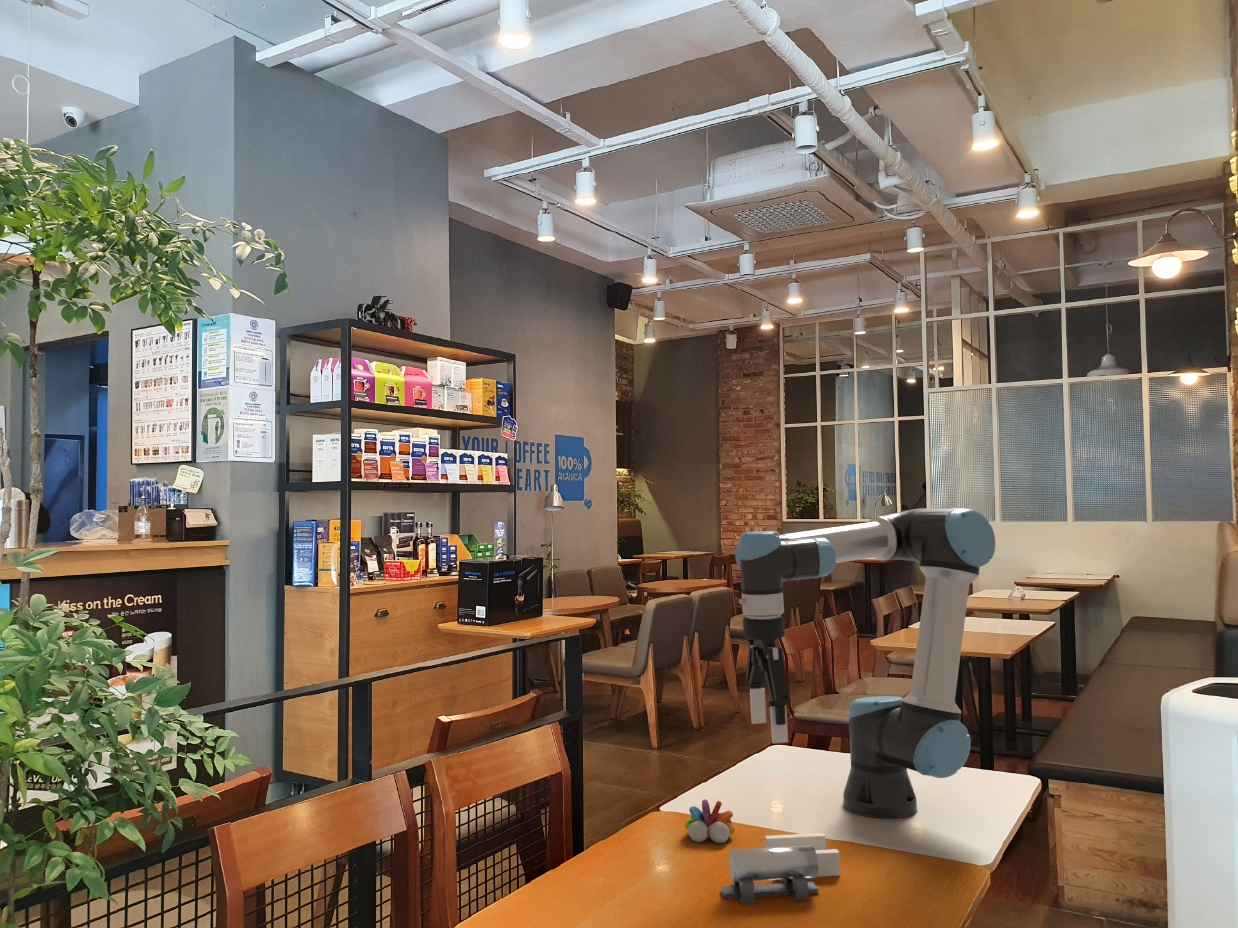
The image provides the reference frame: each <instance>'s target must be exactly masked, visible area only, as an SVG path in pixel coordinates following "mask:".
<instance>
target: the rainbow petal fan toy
mask: <svg viewBox="0 0 1238 928" xmlns="http://www.w3.org/2000/svg"><path fill="white" fill-rule="evenodd" d="M722 805H723V804H722V802H721V801H720V800H717V801H716V803H715V804H714V806H713V809H712V811H711V808H710V804H709V801H708V799H706V798H705V799H703V800H702V801H701V809H700V808H698V807H697V806H694V805H692V806H690V807H689V809H688V810H689V814H690V815H691V817H690V819H689V818H688V819H687V820H686V821H685V824H684V827H685V829H686V830H687V832H688V833H687V834H688V836H689V837H690V839H691V840H692V841H693V842H696V843H702V842H704V841H705V840H707V839H708V838H709V837H710V840H712V841H713V842H714V843H717V844H723V843H725V842H727V840H728V839H729V838H730V836H731V835H733V834H734V833H735V827H734V825H733V822H732V818H733V815H734V813H733V811H731V810H727V811H723V812H720V809H721V807H722ZM708 836H709V837H708Z"/></svg>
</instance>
